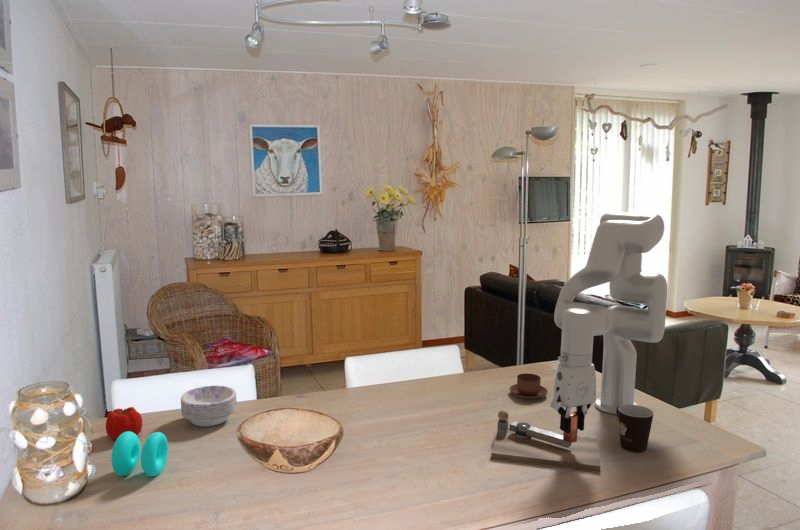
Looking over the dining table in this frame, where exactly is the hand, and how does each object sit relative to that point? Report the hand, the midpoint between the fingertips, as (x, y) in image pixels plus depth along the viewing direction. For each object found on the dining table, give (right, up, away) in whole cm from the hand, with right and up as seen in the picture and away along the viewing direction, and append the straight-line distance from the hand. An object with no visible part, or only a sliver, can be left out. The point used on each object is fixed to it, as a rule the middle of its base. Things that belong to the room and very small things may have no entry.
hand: (571, 429), depth 152 cm
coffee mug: (+18, -6, +8) cm, 21 cm away
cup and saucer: (-2, -1, +44) cm, 44 cm away
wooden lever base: (-6, -7, +4) cm, 10 cm away
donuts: (-104, -8, -8) cm, 105 cm away
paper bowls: (-98, -4, +23) cm, 101 cm away
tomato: (-117, -5, +12) cm, 118 cm away
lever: (-6, -4, +6) cm, 9 cm away
